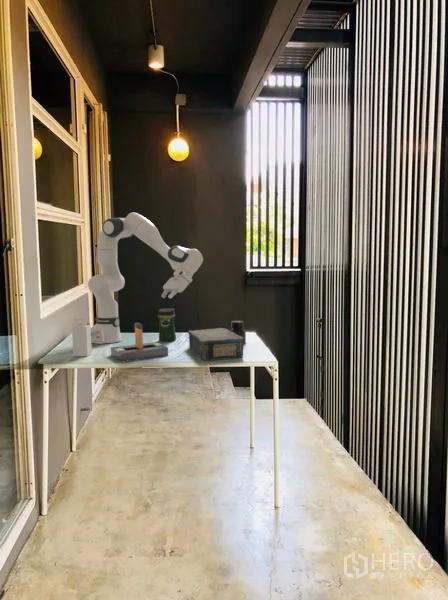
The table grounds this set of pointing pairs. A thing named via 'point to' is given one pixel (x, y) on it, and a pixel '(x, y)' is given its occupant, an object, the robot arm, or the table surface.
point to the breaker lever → (138, 335)
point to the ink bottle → (238, 329)
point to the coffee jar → (166, 324)
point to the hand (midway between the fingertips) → (166, 297)
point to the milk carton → (81, 337)
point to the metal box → (216, 344)
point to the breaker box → (139, 351)
